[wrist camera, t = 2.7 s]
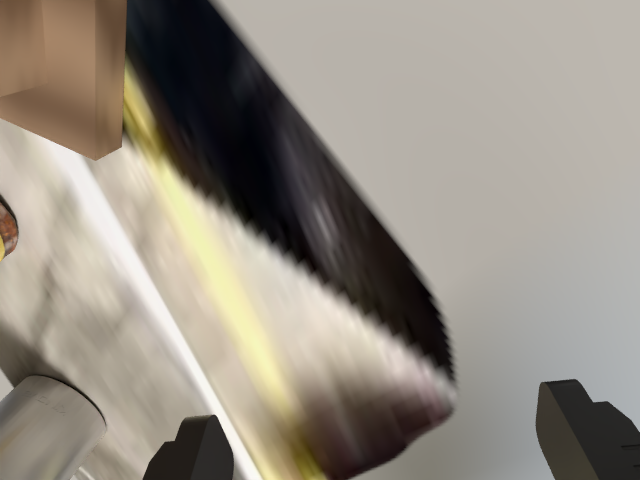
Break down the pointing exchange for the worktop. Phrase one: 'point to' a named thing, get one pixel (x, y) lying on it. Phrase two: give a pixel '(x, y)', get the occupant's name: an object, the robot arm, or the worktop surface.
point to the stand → (65, 71)
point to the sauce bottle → (7, 232)
